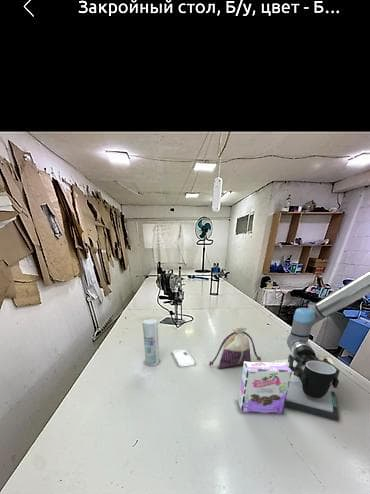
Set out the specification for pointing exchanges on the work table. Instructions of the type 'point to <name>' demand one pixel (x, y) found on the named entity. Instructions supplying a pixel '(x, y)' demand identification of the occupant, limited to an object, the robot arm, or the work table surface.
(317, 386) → the mug
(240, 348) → the pouch
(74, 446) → the work table surface
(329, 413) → the scale
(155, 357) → the spray can
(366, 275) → the robot arm
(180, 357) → the phone case
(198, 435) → the work table surface
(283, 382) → the candy box
